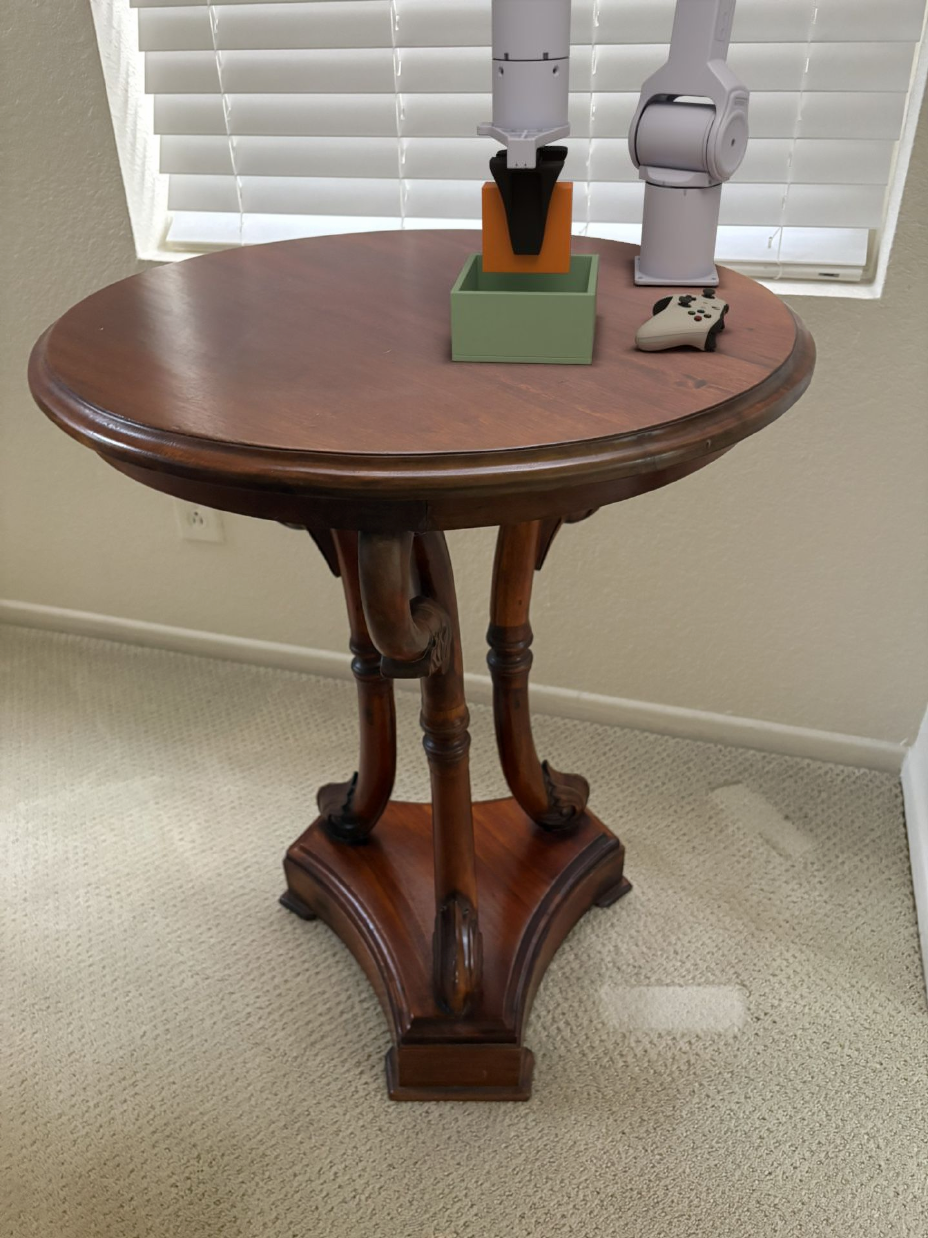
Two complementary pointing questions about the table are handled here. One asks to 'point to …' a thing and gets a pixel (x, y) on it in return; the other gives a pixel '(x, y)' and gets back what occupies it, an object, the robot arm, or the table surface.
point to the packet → (554, 243)
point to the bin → (525, 314)
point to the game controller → (683, 322)
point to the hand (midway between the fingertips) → (528, 249)
